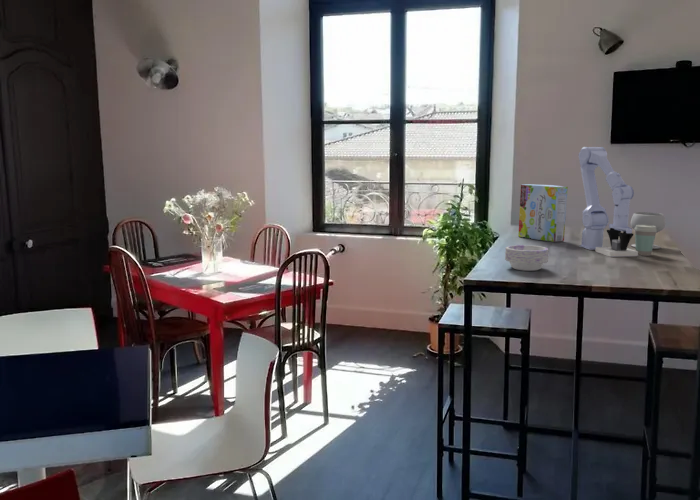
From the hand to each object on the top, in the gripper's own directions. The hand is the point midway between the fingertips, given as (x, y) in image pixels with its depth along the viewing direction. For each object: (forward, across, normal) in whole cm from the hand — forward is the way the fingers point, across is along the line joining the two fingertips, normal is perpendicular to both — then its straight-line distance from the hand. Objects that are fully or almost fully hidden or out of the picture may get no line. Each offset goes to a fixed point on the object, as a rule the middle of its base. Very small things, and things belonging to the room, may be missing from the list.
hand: (618, 248), depth 268 cm
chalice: (+3, -16, +22) cm, 27 cm away
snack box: (+3, -43, -15) cm, 46 cm away
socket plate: (+3, -2, 0) cm, 3 cm away
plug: (+3, 0, 0) cm, 3 cm away
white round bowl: (+3, +25, -50) cm, 56 cm away
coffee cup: (+3, +1, +11) cm, 11 cm away
